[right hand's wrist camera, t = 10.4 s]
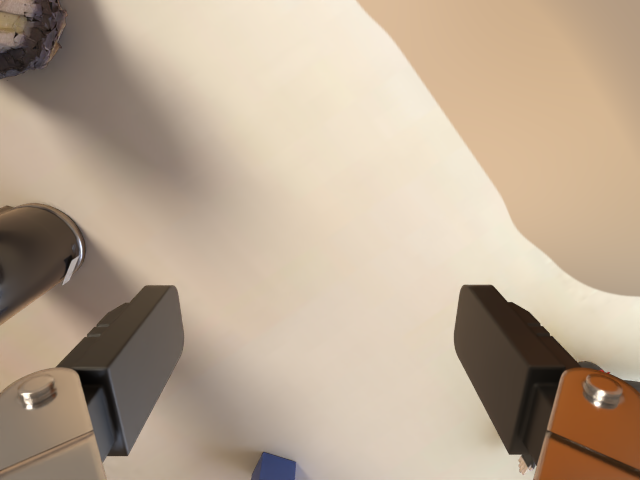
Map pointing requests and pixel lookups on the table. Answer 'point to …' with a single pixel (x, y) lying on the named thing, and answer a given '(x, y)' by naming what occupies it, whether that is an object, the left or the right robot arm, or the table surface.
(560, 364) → the right robot arm
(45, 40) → the miniature building
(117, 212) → the table surface
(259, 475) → the blue block
